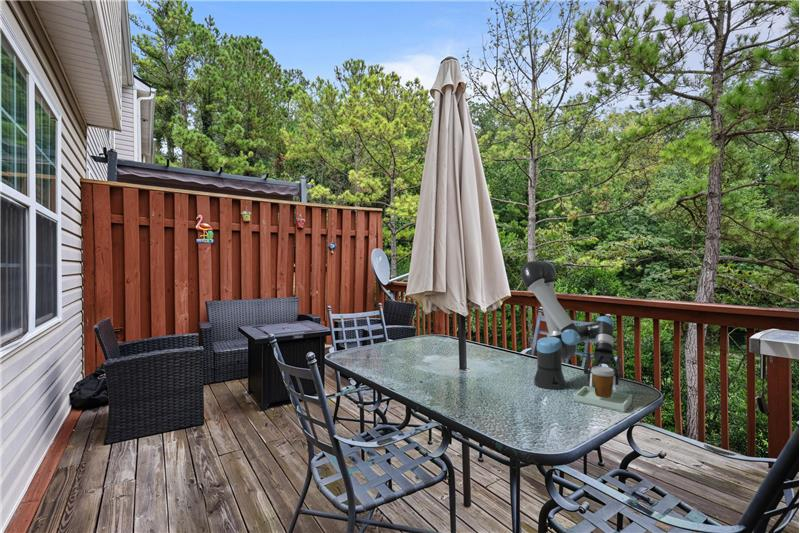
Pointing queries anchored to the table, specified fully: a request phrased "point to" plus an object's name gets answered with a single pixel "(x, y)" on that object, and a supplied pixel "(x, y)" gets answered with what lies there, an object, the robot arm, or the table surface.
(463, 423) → the table surface
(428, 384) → the table surface
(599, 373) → the disposable coffee cup
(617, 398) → the sage tray
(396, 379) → the table surface
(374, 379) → the table surface
